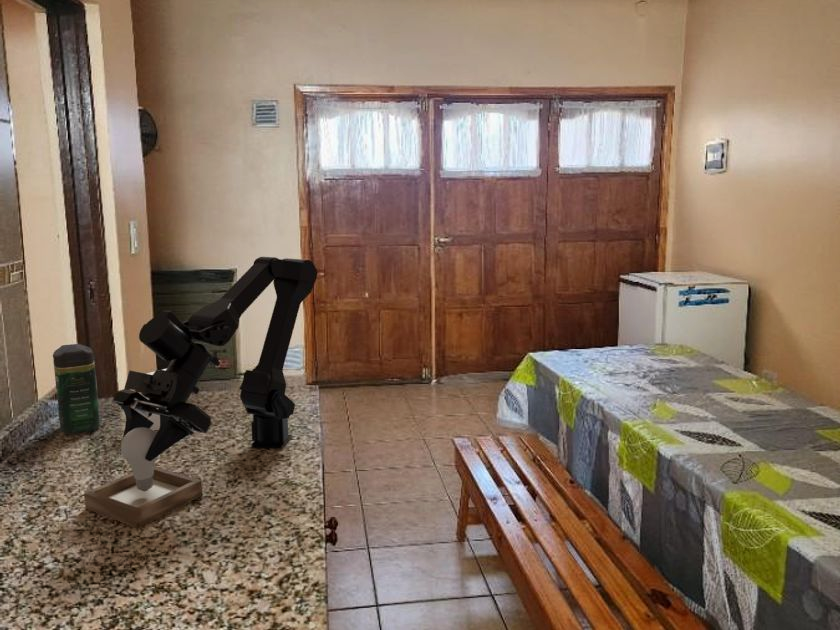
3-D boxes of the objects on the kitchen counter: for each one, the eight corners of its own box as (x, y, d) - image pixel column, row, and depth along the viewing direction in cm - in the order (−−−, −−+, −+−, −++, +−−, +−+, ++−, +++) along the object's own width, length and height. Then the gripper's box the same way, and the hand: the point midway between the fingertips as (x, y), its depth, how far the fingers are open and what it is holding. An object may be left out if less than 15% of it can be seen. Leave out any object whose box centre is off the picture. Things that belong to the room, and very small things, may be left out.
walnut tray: (152, 479, 123) (150, 465, 122) (202, 495, 116) (201, 480, 116) (85, 509, 112) (83, 493, 111) (137, 528, 105) (135, 511, 105)
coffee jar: (103, 431, 147) (94, 348, 144) (62, 438, 143) (52, 353, 140) (98, 418, 155) (90, 339, 152) (59, 424, 151) (50, 343, 148)
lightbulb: (171, 483, 116) (165, 422, 114) (153, 499, 110) (147, 435, 108) (137, 482, 117) (131, 421, 115) (118, 498, 111) (111, 434, 109)
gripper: (116, 344, 117) (63, 424, 110) (191, 356, 108) (138, 446, 101) (158, 376, 125) (111, 453, 118) (231, 391, 116) (185, 475, 109)
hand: (134, 456), depth 111 cm, fingers closed on lightbulb, 6 cm apart
